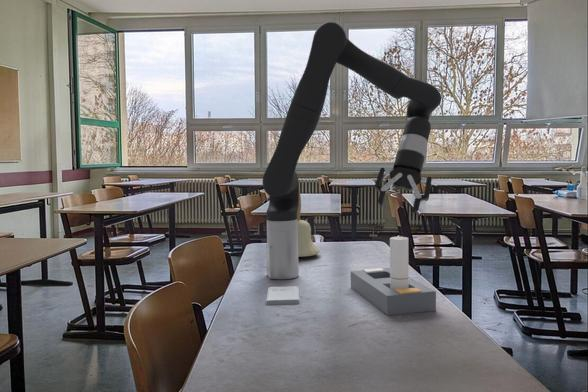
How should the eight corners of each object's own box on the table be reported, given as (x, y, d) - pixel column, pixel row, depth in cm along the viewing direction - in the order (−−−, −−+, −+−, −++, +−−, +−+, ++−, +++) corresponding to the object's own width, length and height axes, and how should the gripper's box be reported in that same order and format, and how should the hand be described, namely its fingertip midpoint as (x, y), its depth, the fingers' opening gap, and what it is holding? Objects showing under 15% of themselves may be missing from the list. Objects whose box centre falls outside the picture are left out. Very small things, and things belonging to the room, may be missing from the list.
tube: (408, 303, 113) (408, 239, 112) (390, 302, 114) (389, 239, 113) (408, 297, 117) (408, 236, 116) (390, 297, 118) (390, 236, 117)
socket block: (435, 310, 110) (435, 289, 110) (387, 315, 108) (387, 294, 107) (391, 283, 134) (391, 266, 133) (350, 287, 131) (350, 270, 131)
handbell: (269, 258, 171) (266, 188, 168) (291, 250, 183) (290, 185, 181) (306, 262, 163) (304, 188, 160) (327, 254, 175) (326, 185, 173)
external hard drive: (266, 306, 118) (268, 292, 131) (299, 305, 118) (298, 291, 131) (266, 300, 118) (268, 286, 130) (299, 299, 118) (298, 285, 131)
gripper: (384, 143, 130) (369, 199, 125) (438, 153, 125) (424, 211, 121) (385, 155, 137) (371, 208, 132) (437, 164, 132) (424, 220, 128)
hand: (397, 209), depth 127 cm, fingers open, 8 cm apart
